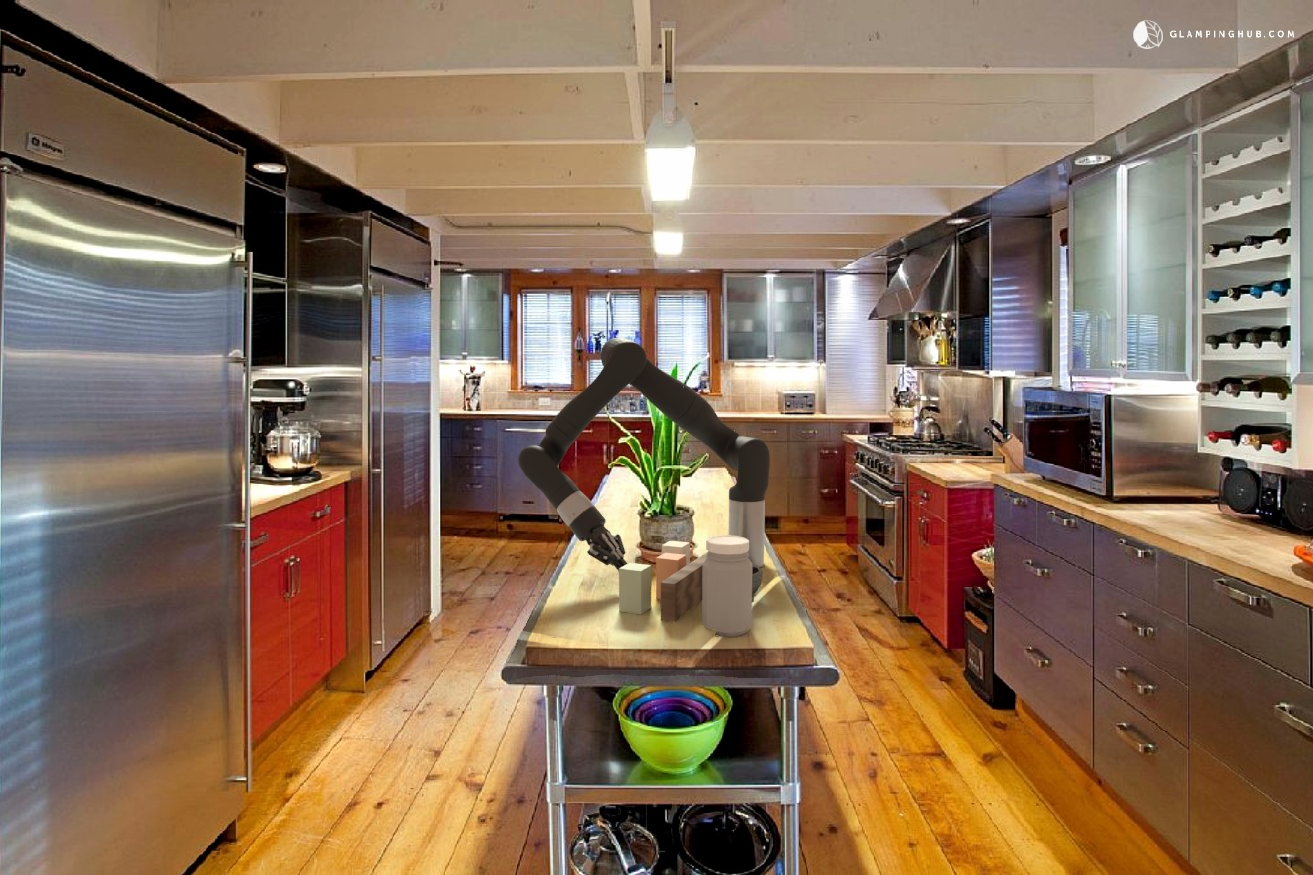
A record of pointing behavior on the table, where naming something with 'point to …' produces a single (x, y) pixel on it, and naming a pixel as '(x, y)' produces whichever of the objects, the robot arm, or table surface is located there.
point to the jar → (727, 586)
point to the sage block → (635, 588)
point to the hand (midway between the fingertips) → (629, 574)
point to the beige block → (677, 549)
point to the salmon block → (667, 568)
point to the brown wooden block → (682, 590)
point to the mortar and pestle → (756, 579)
